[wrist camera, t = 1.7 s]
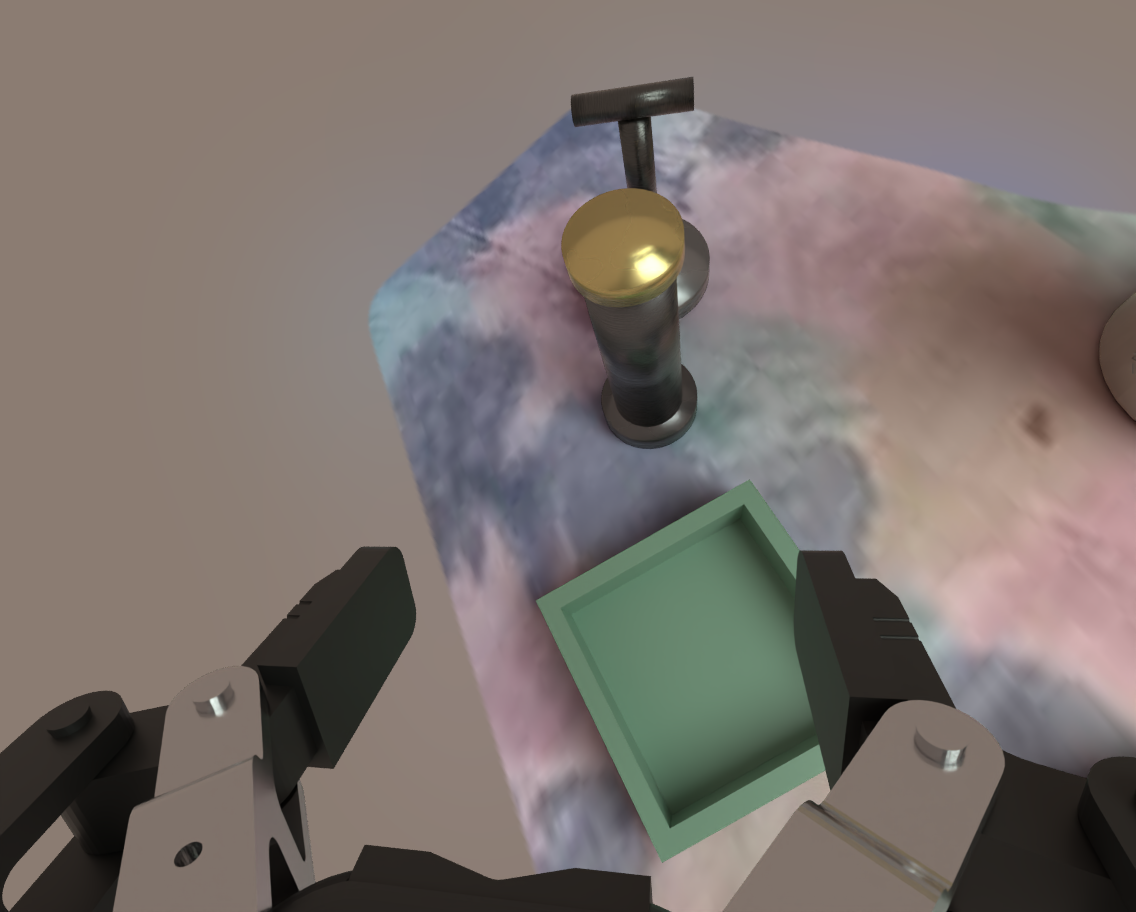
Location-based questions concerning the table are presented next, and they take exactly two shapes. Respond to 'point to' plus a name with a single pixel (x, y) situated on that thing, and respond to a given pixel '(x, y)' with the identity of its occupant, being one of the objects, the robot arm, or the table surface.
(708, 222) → the table surface
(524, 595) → the table surface
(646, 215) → the pin
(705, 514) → the tray
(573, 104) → the t-handle
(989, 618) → the table surface
